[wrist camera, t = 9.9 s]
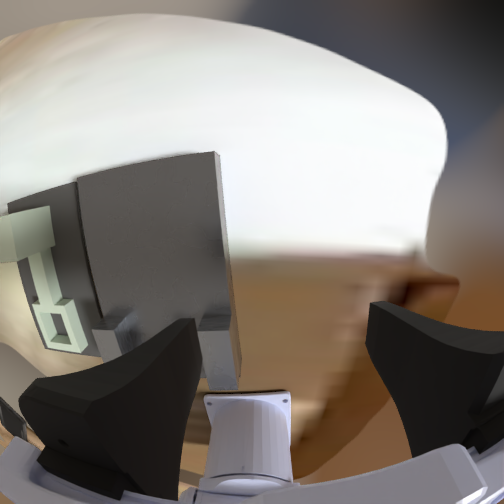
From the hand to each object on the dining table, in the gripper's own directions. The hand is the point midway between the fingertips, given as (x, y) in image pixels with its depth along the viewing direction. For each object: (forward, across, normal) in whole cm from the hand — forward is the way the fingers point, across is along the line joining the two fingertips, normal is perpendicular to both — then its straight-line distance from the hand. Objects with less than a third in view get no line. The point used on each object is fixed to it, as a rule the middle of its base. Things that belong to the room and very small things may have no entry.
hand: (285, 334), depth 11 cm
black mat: (+9, +20, 0) cm, 22 cm away
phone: (+10, +53, +31) cm, 62 cm away
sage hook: (+9, +20, 0) cm, 22 cm away
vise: (+9, +8, 0) cm, 12 cm away
